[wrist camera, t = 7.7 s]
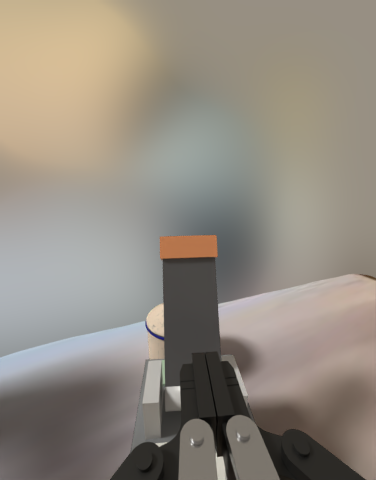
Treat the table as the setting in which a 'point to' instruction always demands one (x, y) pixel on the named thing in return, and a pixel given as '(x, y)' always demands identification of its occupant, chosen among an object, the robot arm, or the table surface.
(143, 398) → the breaker box
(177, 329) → the lever
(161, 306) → the teacup with lid
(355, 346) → the table surface
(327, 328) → the table surface
